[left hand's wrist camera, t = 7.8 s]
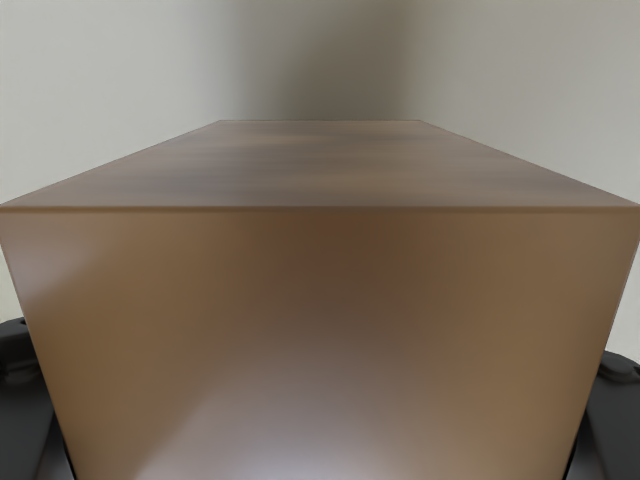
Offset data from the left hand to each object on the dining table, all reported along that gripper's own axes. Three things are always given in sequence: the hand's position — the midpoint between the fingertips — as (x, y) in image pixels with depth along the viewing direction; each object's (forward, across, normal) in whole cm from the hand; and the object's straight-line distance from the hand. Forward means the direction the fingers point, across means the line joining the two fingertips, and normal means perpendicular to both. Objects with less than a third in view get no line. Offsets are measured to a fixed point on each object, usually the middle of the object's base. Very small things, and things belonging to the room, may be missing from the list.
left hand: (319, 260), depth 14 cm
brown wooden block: (+3, 0, 0) cm, 3 cm away
